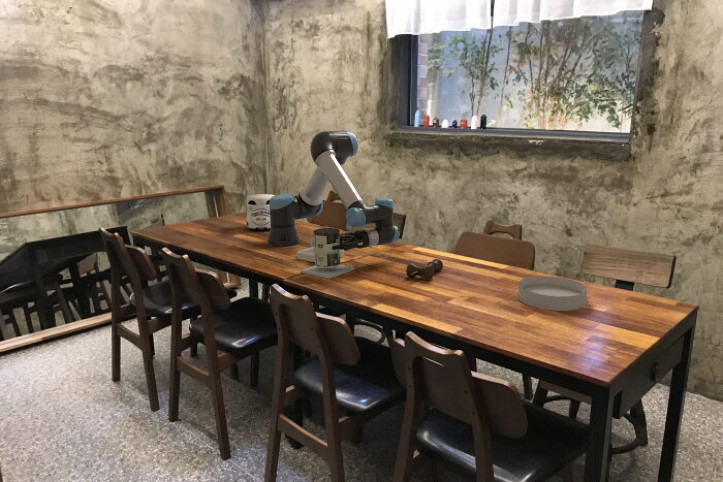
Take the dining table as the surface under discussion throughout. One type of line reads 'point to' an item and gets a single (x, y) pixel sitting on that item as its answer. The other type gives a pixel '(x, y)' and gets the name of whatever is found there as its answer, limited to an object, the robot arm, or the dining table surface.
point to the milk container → (258, 211)
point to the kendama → (424, 269)
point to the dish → (552, 293)
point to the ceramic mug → (354, 228)
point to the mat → (327, 271)
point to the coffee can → (321, 239)
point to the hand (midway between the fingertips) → (317, 245)
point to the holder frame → (311, 254)
